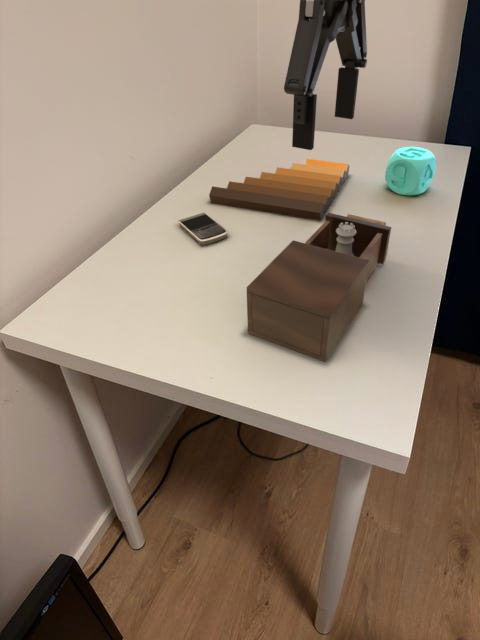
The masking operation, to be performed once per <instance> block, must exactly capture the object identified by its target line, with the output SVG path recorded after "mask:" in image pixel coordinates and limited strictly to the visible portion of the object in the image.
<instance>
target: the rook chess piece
mask: <svg viewBox="0 0 480 640" xmlns="http://www.w3.org/2000/svg"><path fill="white" fill-rule="evenodd" d="M336 233H337V234H338V237H337V246H336V250H335V251H336V252H339V253H343V254H347V255H351V256H354V255H353V254H352V242H353V241H354V239H353V236H354V235H355V234H356V230H355V225H354V226H353V224H352V223H350V225H348V222H345V225H343V223H340V225H339V227H338V228H337V229H336Z"/></svg>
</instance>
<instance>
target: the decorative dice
mask: <svg viewBox="0 0 480 640" xmlns="http://www.w3.org/2000/svg"><path fill="white" fill-rule="evenodd" d="M436 168H437V159H436V157H435V155H434V154H433V152H432V151H430V150H429V149H427V148H424V147H418V146H404V147H400V148H398V149H396V150H395V151H394V152H393V153H392V155H391V156H390V158H389V160H388V162H387V164H386V168H385V173H384V181H385V183H386V186H387V187H388V188H389V190H391V191H392V192H393V193H395V194H398V195H402V196H419V195H421V194H423V193H424V192H426V191H427V189H428V188H429V186H430V185H431V183H432V181H433V179H434V176H435V172H436Z"/></svg>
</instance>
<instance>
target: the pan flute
mask: <svg viewBox="0 0 480 640" xmlns="http://www.w3.org/2000/svg"><path fill="white" fill-rule="evenodd" d="M350 168H351V167H350V164H349V163H344V162H336V161H328V160H320V159H313V158H306V161H305V163H296V162H292V163H291V166H290V168H286V167H279V166H278V167H276V171H275V173H273V172H265V171H261V173H260V175H259V177H252V176H245V177H244V181H243V182H238V181H237V182H236V181H230V180H229V181H228V184H227V187H219V186H211V189H210V191H209V194H208V196H209V200H210V203H211V204H217V205H222V206H230V207H235V208H242V209H245V210H246V209H247V210H253V211H259V212H264V213H272V214H277V215H282V216H289V217H295V218H301V219H308V220H314V221H319V222H321V221H322V219H323V218H324V215H325V214H327V211H328V210H329V207H330V206H331V205H332V204H333V201H334V200H335V198H336V196H337V195H338V193H339V192H340V190H341V188H342V187H343V185H344V183H345V181H346V180H347V179H348V177H349V173H350Z"/></svg>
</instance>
